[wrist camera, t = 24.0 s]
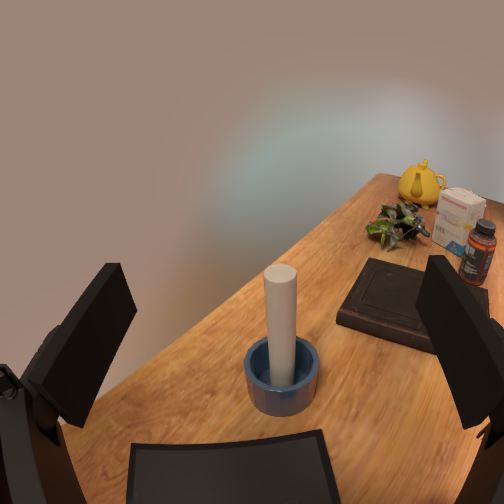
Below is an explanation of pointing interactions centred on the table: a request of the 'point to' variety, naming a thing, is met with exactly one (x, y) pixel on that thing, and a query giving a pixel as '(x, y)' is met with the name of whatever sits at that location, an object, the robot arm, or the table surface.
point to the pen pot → (281, 398)
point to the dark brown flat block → (392, 304)
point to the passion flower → (398, 222)
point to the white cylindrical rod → (281, 322)
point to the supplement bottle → (478, 252)
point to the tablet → (234, 472)
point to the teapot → (420, 185)
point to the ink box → (456, 218)
